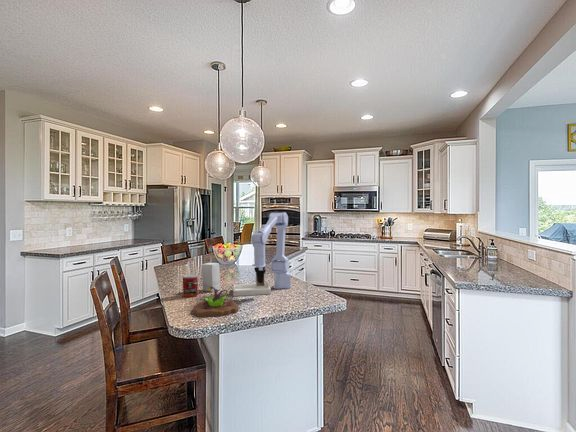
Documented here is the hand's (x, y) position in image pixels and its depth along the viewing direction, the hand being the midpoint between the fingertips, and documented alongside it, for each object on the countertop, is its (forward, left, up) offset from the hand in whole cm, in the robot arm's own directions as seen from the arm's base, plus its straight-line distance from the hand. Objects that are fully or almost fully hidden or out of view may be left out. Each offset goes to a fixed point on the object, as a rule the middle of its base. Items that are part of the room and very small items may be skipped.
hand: (260, 281), depth 163 cm
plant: (+22, +17, -9) cm, 29 cm away
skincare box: (+27, -22, -8) cm, 36 cm away
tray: (+4, -13, -8) cm, 16 cm away
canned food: (+37, -12, -8) cm, 40 cm away
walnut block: (0, 0, -2) cm, 2 cm away
